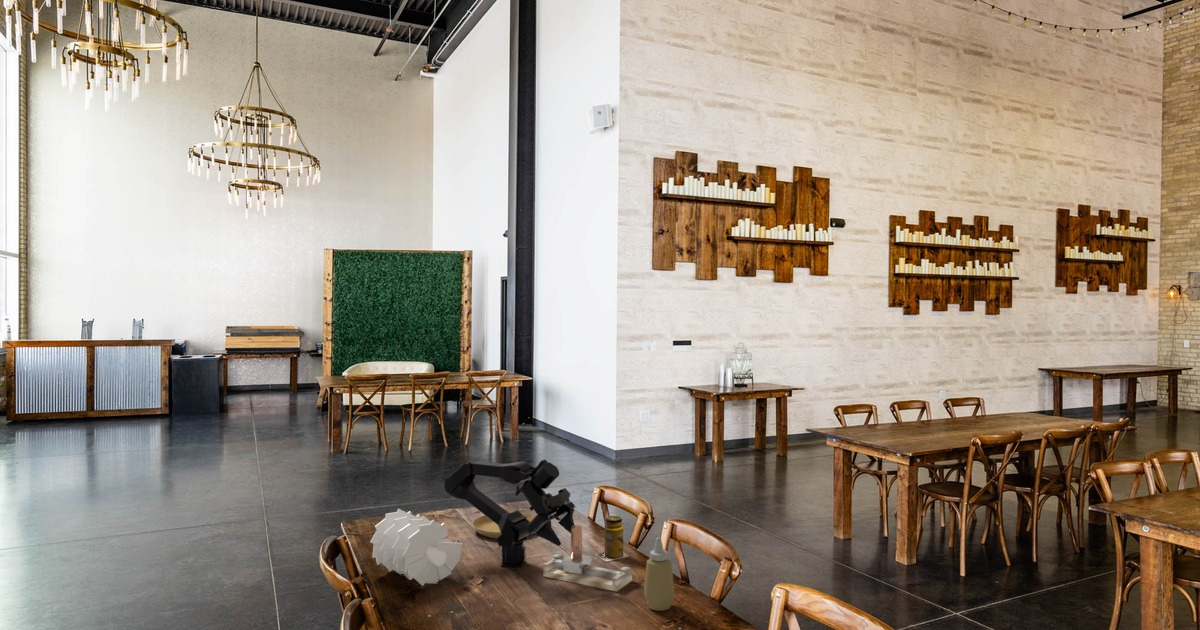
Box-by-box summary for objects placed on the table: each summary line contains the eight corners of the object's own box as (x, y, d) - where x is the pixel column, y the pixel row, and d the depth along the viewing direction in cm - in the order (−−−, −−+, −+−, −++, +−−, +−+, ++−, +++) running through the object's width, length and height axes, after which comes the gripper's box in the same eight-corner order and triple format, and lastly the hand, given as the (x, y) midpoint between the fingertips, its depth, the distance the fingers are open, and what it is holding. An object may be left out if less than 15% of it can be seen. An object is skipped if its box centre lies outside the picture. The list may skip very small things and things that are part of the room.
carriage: (561, 572, 209) (561, 528, 208) (574, 564, 215) (573, 522, 215) (579, 575, 206) (578, 531, 206) (591, 568, 212) (591, 525, 212)
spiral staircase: (426, 605, 201) (379, 578, 218) (473, 562, 212) (424, 540, 229) (402, 554, 194) (355, 530, 211) (451, 513, 206) (403, 494, 223)
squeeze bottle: (641, 601, 192) (641, 533, 192) (671, 599, 193) (671, 532, 192) (646, 614, 184) (645, 543, 184) (677, 612, 185) (676, 542, 184)
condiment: (629, 556, 226) (628, 518, 226) (606, 562, 222) (606, 523, 221) (615, 550, 232) (615, 513, 232) (593, 555, 228) (593, 517, 228)
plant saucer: (549, 522, 264) (549, 513, 264) (528, 543, 241) (528, 533, 241) (487, 518, 269) (487, 510, 269) (461, 539, 246) (461, 529, 246)
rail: (541, 575, 211) (541, 562, 211) (557, 565, 219) (557, 553, 219) (619, 592, 198) (619, 578, 198) (634, 581, 206) (634, 567, 206)
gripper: (535, 488, 206) (567, 533, 200) (569, 474, 222) (601, 515, 217) (512, 512, 210) (544, 556, 204) (548, 496, 226) (578, 537, 221)
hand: (568, 540), depth 211 cm, fingers open, 9 cm apart
